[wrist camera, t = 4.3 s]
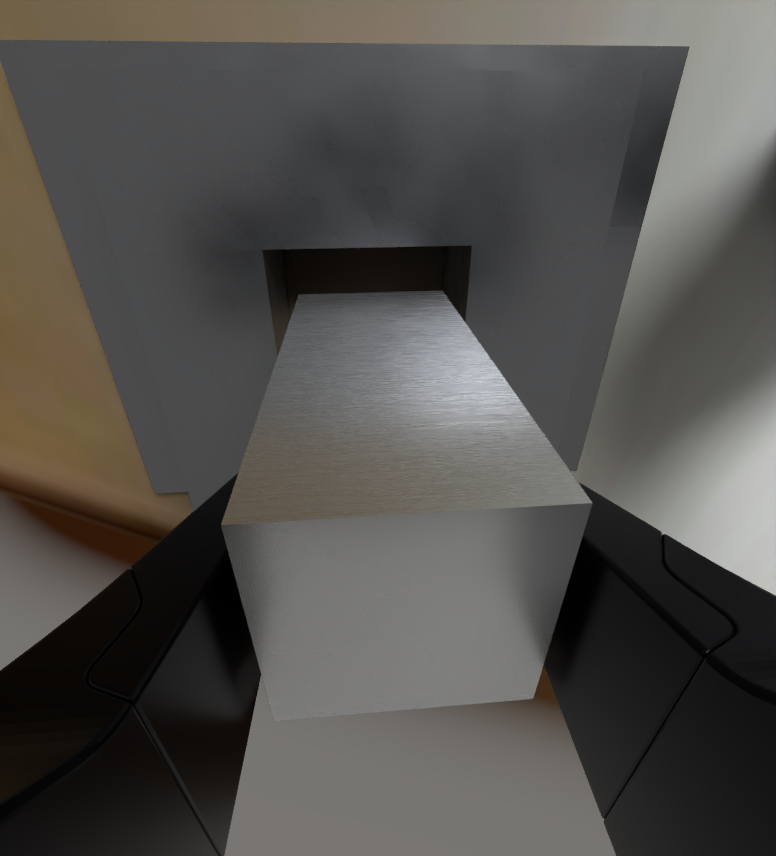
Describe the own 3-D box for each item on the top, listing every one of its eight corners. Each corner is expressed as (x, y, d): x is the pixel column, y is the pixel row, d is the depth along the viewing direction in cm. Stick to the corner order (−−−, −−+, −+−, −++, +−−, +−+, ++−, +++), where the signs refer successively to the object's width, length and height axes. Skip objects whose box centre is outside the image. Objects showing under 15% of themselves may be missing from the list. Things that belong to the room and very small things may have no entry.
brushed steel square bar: (442, 290, 13) (593, 503, 5) (434, 427, 15) (527, 715, 7) (298, 294, 12) (220, 525, 5) (313, 433, 15) (278, 737, 7)
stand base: (673, 51, 14) (836, 0, 10) (569, 461, 23) (629, 543, 18) (11, 46, 13) (-183, -18, 8) (161, 482, 21) (108, 577, 17)
